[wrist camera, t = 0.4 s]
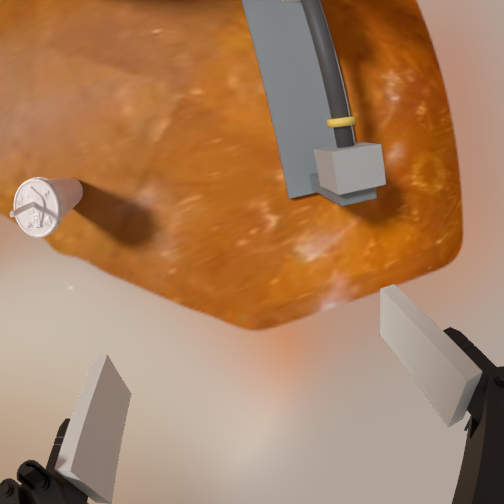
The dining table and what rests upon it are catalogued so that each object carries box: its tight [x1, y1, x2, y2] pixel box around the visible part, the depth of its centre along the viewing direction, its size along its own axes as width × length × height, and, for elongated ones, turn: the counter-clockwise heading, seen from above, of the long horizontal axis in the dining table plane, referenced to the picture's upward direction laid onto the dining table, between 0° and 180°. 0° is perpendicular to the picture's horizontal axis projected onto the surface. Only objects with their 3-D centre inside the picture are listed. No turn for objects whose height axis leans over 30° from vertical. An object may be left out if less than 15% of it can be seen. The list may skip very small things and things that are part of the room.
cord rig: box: [241, 0, 386, 206], centre depth 28 cm, size 31×10×12 cm, turn 13°
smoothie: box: [10, 177, 83, 238], centre depth 28 cm, size 6×6×14 cm
